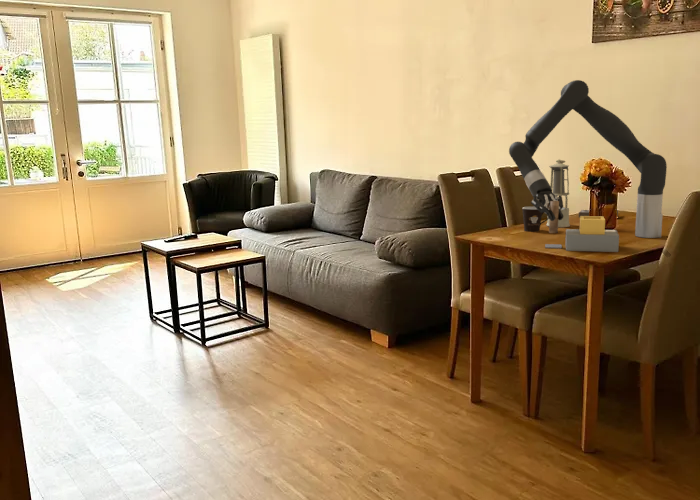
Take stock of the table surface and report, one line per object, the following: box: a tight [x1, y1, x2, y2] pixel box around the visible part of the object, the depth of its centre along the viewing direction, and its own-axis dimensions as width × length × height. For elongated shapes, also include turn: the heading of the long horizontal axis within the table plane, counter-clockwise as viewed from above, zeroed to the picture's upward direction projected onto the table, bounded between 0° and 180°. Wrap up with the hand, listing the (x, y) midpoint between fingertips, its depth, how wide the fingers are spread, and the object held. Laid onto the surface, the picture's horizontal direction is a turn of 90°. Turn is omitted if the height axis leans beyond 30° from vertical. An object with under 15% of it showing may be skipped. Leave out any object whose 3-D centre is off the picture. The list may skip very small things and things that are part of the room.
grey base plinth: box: [564, 216, 620, 253], centre depth 239 cm, size 18×12×12 cm, turn 73°
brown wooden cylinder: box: [548, 201, 559, 234], centre depth 242 cm, size 3×3×12 cm
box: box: [578, 209, 619, 219], centre depth 311 cm, size 11×17×3 cm, turn 63°
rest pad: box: [544, 243, 562, 250], centre depth 244 cm, size 6×6×1 cm
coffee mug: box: [521, 206, 549, 233], centre depth 279 cm, size 12×9×10 cm
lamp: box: [546, 159, 571, 228], centre depth 289 cm, size 10×13×30 cm
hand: (557, 219), depth 240 cm, fingers closed on brown wooden cylinder, 3 cm apart
